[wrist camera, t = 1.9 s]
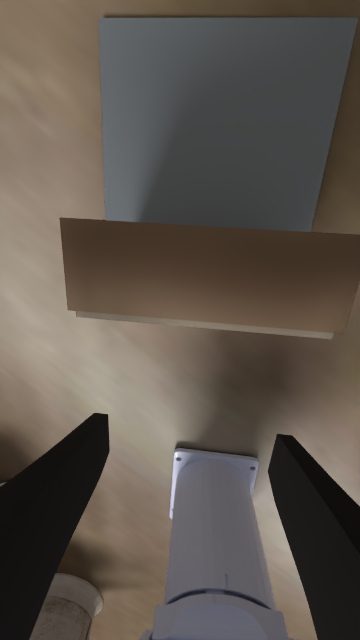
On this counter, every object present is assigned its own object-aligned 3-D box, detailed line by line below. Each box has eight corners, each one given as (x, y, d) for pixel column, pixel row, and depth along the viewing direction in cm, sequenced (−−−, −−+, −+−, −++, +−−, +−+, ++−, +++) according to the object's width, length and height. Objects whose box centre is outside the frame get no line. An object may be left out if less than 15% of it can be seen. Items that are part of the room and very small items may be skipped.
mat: (305, 241, 15) (308, 240, 14) (108, 229, 16) (105, 228, 15) (351, 27, 12) (358, 17, 11) (102, 27, 12) (98, 18, 12)
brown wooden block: (264, 297, 16) (341, 341, 7) (135, 287, 17) (68, 317, 8) (273, 248, 15) (373, 235, 6) (135, 240, 16) (59, 217, 7)
